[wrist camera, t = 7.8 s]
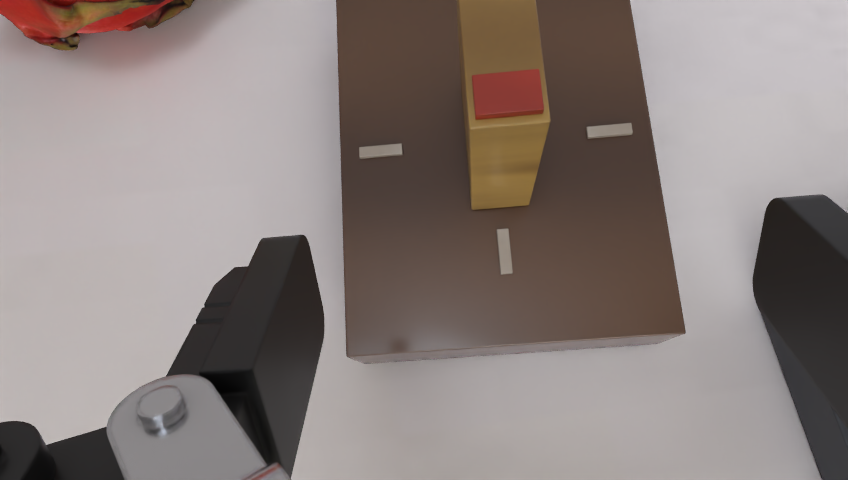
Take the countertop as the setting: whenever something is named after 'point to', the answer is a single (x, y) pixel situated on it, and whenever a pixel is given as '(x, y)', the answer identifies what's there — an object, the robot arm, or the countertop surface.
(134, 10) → the dragon fruit
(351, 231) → the panel
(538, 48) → the lock knob
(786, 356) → the box
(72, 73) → the countertop surface
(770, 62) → the countertop surface
